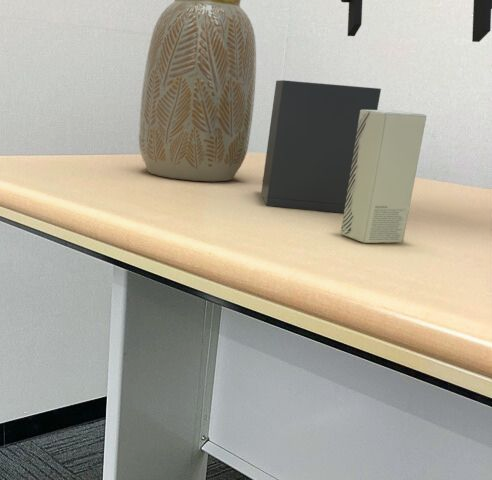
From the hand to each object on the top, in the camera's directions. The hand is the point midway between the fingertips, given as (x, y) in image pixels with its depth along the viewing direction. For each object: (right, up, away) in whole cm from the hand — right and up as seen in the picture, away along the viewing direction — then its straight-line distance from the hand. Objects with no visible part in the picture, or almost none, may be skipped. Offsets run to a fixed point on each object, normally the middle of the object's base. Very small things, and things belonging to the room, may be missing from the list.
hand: (417, 33), depth 81 cm
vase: (-22, -7, +38) cm, 44 cm away
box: (-6, -23, -2) cm, 23 cm away
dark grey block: (-8, -14, +20) cm, 25 cm away
